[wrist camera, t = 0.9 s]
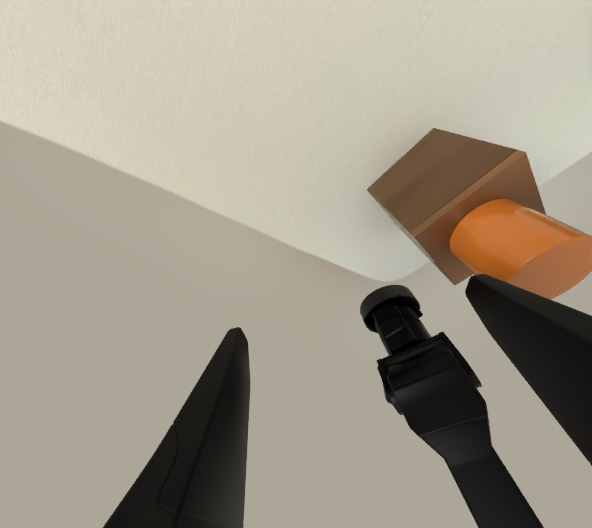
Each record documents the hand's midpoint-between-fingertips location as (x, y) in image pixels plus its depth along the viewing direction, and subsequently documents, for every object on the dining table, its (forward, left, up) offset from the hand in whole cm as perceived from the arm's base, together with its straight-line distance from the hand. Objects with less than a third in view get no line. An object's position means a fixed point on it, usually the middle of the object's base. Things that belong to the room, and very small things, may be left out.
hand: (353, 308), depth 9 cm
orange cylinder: (-6, -7, -5) cm, 10 cm away
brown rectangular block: (-6, -7, -12) cm, 15 cm away
